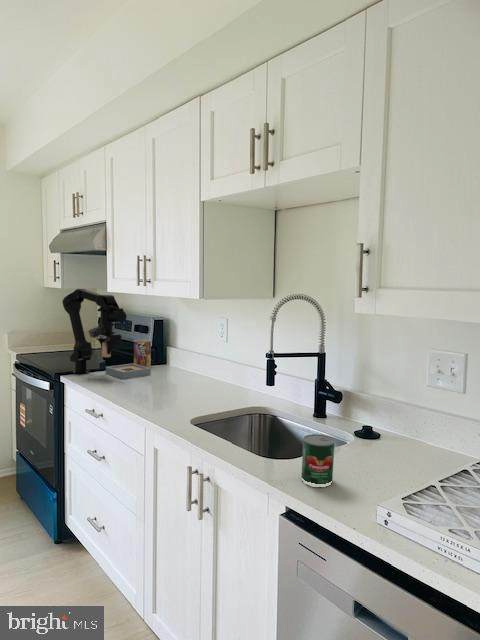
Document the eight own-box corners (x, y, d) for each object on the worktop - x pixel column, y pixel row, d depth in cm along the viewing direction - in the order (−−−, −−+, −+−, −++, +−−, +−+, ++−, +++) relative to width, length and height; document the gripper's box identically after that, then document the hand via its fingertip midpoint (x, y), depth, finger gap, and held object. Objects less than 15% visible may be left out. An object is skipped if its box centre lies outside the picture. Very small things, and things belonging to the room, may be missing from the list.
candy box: (150, 367, 259) (151, 339, 258) (150, 368, 255) (150, 340, 254) (134, 367, 258) (134, 339, 257) (133, 368, 254) (133, 340, 252)
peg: (100, 356, 228) (100, 342, 228) (108, 355, 231) (108, 341, 230) (104, 357, 225) (104, 343, 225) (112, 356, 228) (112, 342, 228)
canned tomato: (312, 490, 115) (314, 446, 114) (295, 477, 122) (297, 436, 121) (338, 485, 119) (341, 442, 118) (320, 473, 126) (322, 432, 125)
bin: (105, 373, 239) (105, 366, 238) (133, 370, 250) (133, 363, 250) (122, 379, 228) (122, 372, 227) (150, 375, 239) (150, 368, 239)
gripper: (81, 320, 228) (81, 352, 229) (100, 323, 214) (100, 357, 216) (103, 319, 235) (102, 350, 237) (122, 322, 222) (122, 355, 224)
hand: (106, 353), depth 228 cm, fingers closed on peg, 4 cm apart
